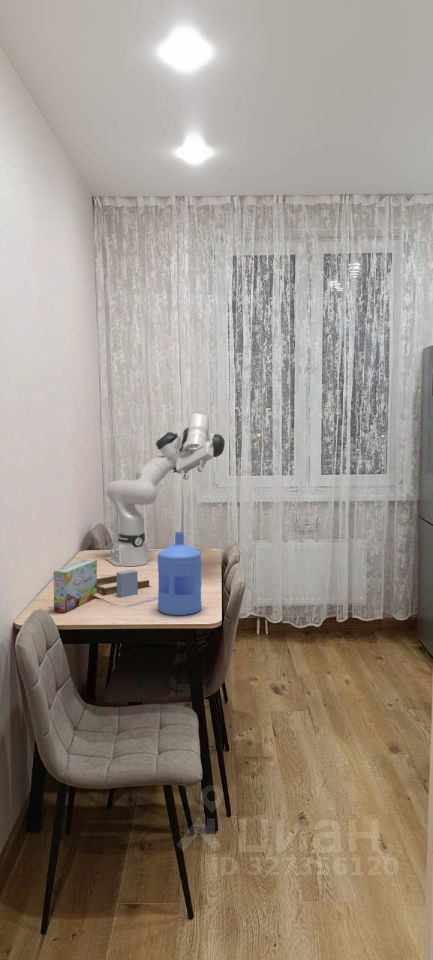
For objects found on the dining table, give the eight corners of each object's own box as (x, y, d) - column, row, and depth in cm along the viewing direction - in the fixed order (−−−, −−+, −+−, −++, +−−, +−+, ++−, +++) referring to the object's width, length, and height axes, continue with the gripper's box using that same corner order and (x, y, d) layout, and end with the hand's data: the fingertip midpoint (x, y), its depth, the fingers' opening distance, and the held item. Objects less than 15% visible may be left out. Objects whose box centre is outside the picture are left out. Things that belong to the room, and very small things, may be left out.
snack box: (66, 613, 226) (65, 571, 224) (53, 612, 228) (52, 570, 226) (98, 597, 245) (97, 558, 244) (85, 596, 247) (84, 557, 246)
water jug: (170, 601, 241) (169, 527, 238) (208, 605, 235) (208, 530, 232) (150, 613, 226) (149, 535, 223) (190, 618, 220) (190, 538, 217)
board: (116, 598, 243) (116, 572, 242) (132, 594, 247) (132, 569, 246) (121, 600, 240) (121, 574, 239) (137, 597, 244) (137, 571, 243)
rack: (86, 590, 255) (86, 580, 254) (132, 582, 267) (132, 572, 267) (103, 599, 243) (103, 589, 242) (151, 590, 255) (151, 580, 255)
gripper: (218, 440, 261) (215, 469, 254) (186, 458, 275) (183, 485, 268) (206, 433, 258) (203, 462, 251) (175, 451, 271) (171, 479, 264)
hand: (192, 474), depth 259 cm, fingers open, 8 cm apart
